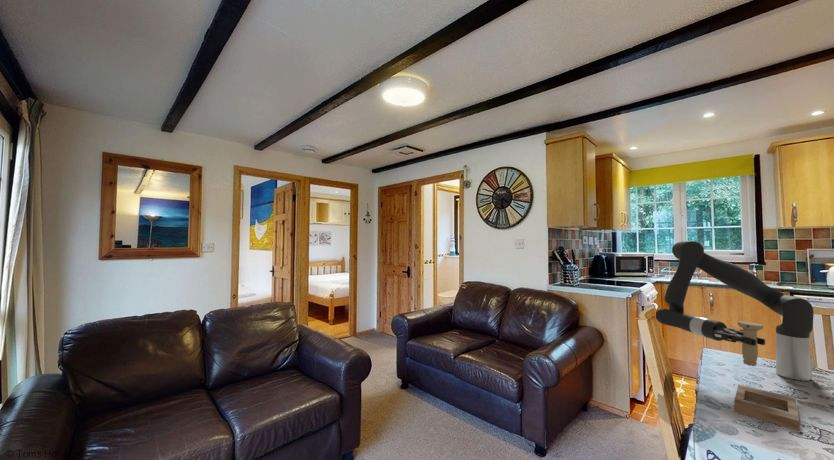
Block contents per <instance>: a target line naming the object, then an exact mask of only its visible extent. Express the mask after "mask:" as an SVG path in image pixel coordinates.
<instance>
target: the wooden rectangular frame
mask: <svg viewBox="0 0 834 460" xmlns="http://www.w3.org/2000/svg"><path fill="white" fill-rule="evenodd" d="M734 397H735V398H734V401H733V413H737V414H740V415H744V416H747V417H750V418H754V419H757V420H761V421H764V422H767V423H770V424H774V425H778V426H781V427H786V428H789V429H792V430H795V431H800V417H799V412H798V404H797V399H796V398H795V397H793V396H788V395H784V394H781V393H776V392H772V391H768V390H764V389H759V388H756V387H752V386H748V385H743V384H739V383H738V384H737V388H736V393H735V396H734ZM748 400H749V401H748ZM759 403H760V404H759ZM770 406H771V407H770ZM774 407H775V408H774Z"/></svg>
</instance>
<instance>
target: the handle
mask: <svg viewBox="0 0 834 460" xmlns="http://www.w3.org/2000/svg"><path fill="white" fill-rule="evenodd" d="M737 325H738V326H739V327H741V328H742V330H743V331H744V333H743V336H744V337H748V338H751V339H755V340H756V346H752V345H749V344H745V343H741V345H742V346H741V347H742V348H741V353H742V354H741V355H742V359H743V360H742V361H743V364H744V365H747V366H751V367H755V366H757V364H758V363H757V361H758V355H759V349H758V348H759V347H758V345H759V344H757V337H758V335H757V334H758V331H761V330H763V329H764V324H761V323H758V322H752V321H744V320H738V321H737Z"/></svg>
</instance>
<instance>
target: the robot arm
mask: <svg viewBox="0 0 834 460" xmlns="http://www.w3.org/2000/svg"><path fill="white" fill-rule="evenodd" d="M671 253H672V255H673V256H674V257H675V258H676V259H677V260H679V261H678V267H677V269H676V271H675V272H674V275H673V276H672V278H671V279H670V282H669V283H668V285H667V288H666V290H665V296H664V298H663V299H664V300H663V301H664V302H665V303H666V304H667V305H668V308H659V309H657V310H656V311H655V313H656V317H655V319H656V320H657V322H659V323H660V324H662V325H666V326H669V327H673V328H674V327H675V328H678V329H681V330H684V331H685V332H689V333H693V334H694V335H695V334H696V335H698V336H701V337H704V338H707V339H710V340H714V341H717V342H720V341H721V342H722V341H726V342H731V343H734V344H735V343H739V344H743V343H745V344H749V345H752V346H756V340H755V339H751V338H748V337H744V336H743V333H744V331H743V329H739V330H737V329H735V328H730V327H727V325H726V324H725V323H724V322H722V321H719V320H715V319H710V318H707V317H702V316H697V315H692V314H688V313H685V311H684V310H685V309H684V308H685V307H684V303H685V300H686V297H687V293H688V289H689V286H690V284H691V280H692V279H693V276H694V274H695V272H696V270H697V269H700V270H701V271H703V272H704V273H706V274H708V275H709V276H711V277H712V278H714V279H715V280H716V281H717V280H718V281H719V282H721V283H722V284H724V285H726V286H728V287H730V288H731V289H733V290H735V291H737V292H740V293H741V294H743V295H746V296H748V297H750V298H753V299H754V300H756V301H758V302H760V303H761V304H763V305H764V306H765V307H767V308H769V309H770V310H772V312H774V313H776V314H777V315H779V316H782V322H781V324H779V325H776V327H775V372H776V374H777V375H778V376H781V377H784V378H787V379H790V380H794V379H795V381H800V380H801V381H803V382H809V381H810V380H813V371H812V370H813V361H812V359H813V358H812V355H811V353H810V352H811V347H810V346H811V345H810V343H811V340H810V339H811V338H810V336H811V335H810V334H811V332H812V331H813V329H814V315H815V313H814V307H813V306H812V304H811V302H810V301H809V300H807V299H805V298H803V297H797V296H793V295H789V294H787V293H783V292H782V291H779V290H777V289H775V288H772V287H771V286H768V285H767V284H766V283H764V282H763V281H762V280H761V279H760V278H759V277H758V276H757V275H755V274H753V273H752V272H750V271H748V270H746V269H745V268H743V267H741V266H739V265H737V264H734V263H731V262H728V261H726V260H723V259H720V258H717V257H714V256H712V255H710V254H708V253H706V252H705V249H704V246H703V245H702V244H701V243H700V242H698V241H696V240H683V241H679V242H676V243H675V244H673V246H672V248H671ZM757 345H760V346H765V345H766V339H765V338H762V337H759V336H757ZM801 381H800V382H801Z"/></svg>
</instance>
